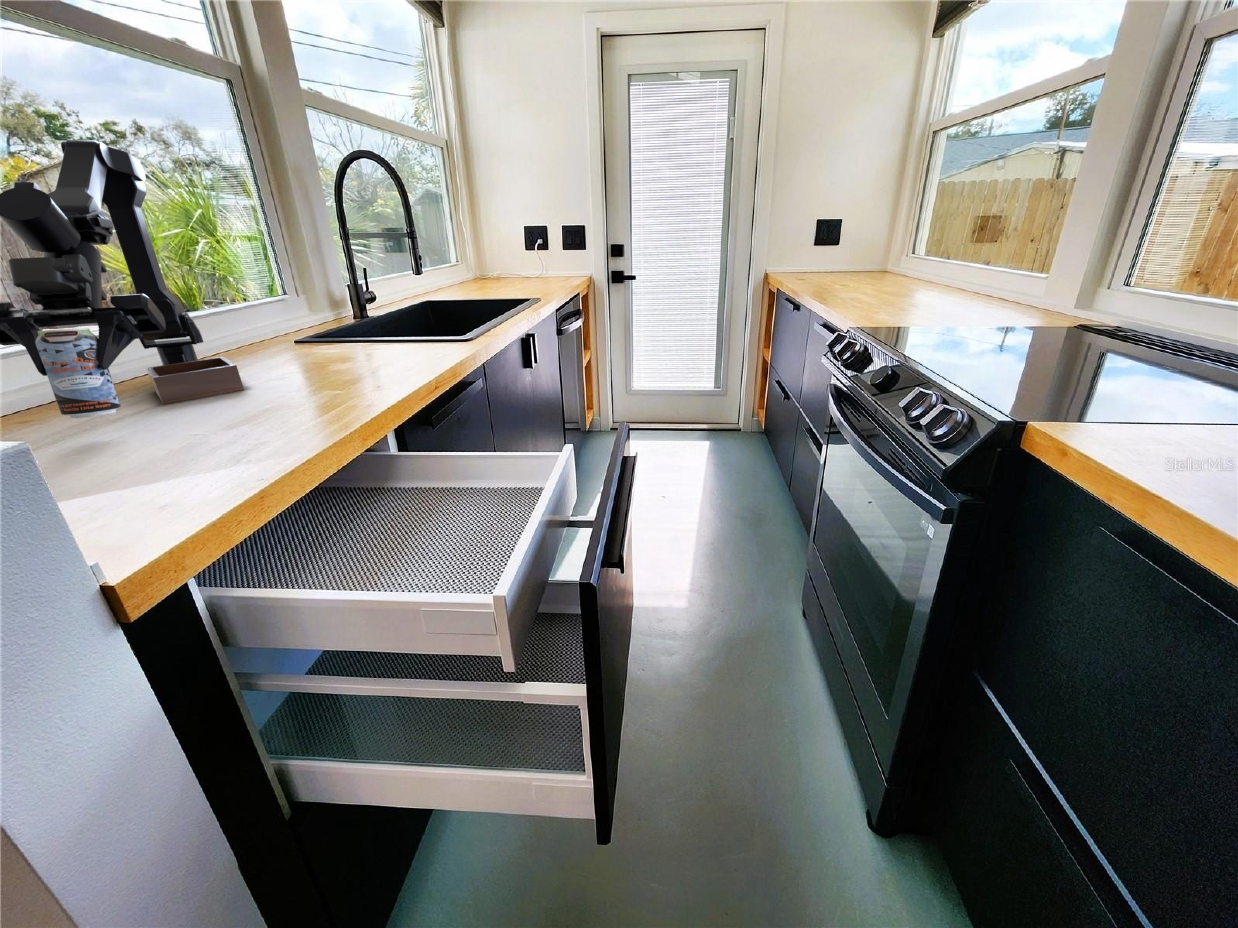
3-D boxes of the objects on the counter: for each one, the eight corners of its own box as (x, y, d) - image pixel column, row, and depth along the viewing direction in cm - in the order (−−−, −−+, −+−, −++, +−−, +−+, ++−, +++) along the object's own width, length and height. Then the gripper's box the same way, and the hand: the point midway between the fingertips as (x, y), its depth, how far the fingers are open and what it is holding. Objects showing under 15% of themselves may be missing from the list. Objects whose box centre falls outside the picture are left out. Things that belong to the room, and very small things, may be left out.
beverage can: (58, 427, 70) (12, 335, 65) (78, 412, 76) (38, 326, 71) (118, 419, 73) (79, 329, 68) (134, 404, 79) (98, 321, 74)
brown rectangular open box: (155, 392, 97) (146, 367, 95) (231, 379, 104) (223, 356, 102) (163, 404, 89) (153, 378, 87) (244, 389, 96) (236, 365, 94)
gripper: (-68, 235, 65) (-79, 343, 60) (124, 230, 71) (127, 326, 67) (1, 296, 75) (-4, 393, 70) (164, 287, 81) (170, 374, 77)
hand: (73, 371), depth 70 cm, fingers closed on beverage can, 6 cm apart
